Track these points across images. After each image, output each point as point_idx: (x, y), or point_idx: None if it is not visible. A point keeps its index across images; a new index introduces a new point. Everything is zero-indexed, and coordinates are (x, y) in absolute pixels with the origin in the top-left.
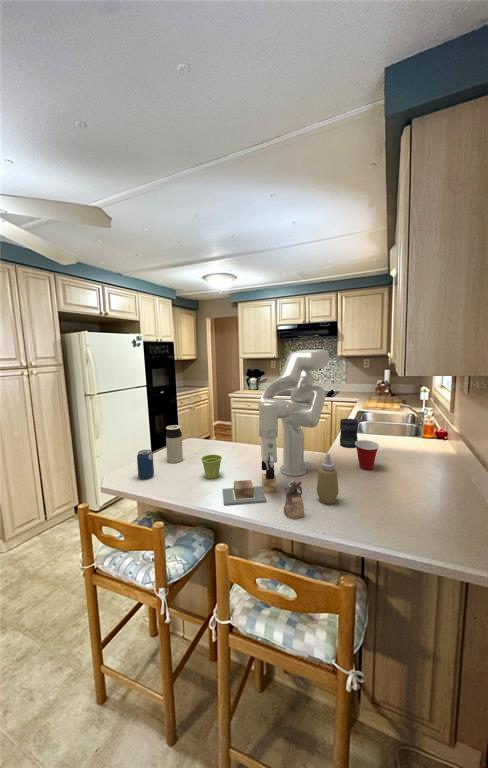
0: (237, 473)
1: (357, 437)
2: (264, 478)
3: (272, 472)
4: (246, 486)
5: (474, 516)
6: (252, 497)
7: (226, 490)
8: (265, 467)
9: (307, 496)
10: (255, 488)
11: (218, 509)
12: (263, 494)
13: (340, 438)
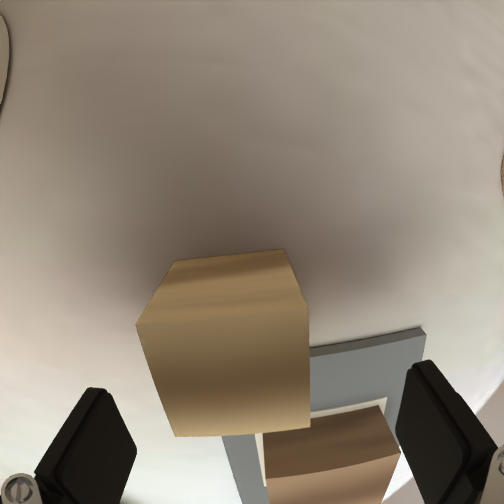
0: (38, 435)
1: None
2: (301, 424)
3: (486, 432)
4: (366, 483)
5: None
6: (377, 411)
7: (263, 499)
8: (114, 447)
9: (367, 13)
10: None
11: (402, 481)
12: (347, 356)
13: None
